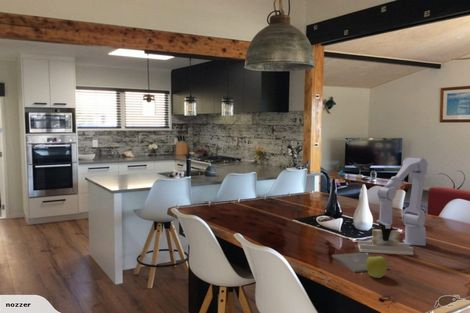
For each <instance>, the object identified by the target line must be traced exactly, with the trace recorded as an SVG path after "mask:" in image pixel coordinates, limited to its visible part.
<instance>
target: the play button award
mask: <svg viewBox="0 0 470 313" xmlns="http://www.w3.org/2000/svg"><path fill="white" fill-rule="evenodd" d="M369 257H372V256H370V255H369V254H368V253H366V252H354V253H353V252H351V253H340V254H331V258H332V259H334V260H336V261H337V262H338V263H340V264H341V265H343V266H345V267H346V268H347V269H349V270H350V271H352V272H353V273H365V272H368V271H367V267H366V261H367V259H368V258H369ZM387 270H390V266H389V265H387Z"/></svg>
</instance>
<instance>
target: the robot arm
mask: <svg viewBox="0 0 470 313" xmlns="http://www.w3.org/2000/svg"><path fill="white" fill-rule="evenodd" d="M428 165H429V164H428V161H427V159H426V158H424V157H423V158H422V157H409V156H407V157H405V158H404V159H403V161H402V166H401V168H400V169H399V171H398V172H397V174H396V175H395V176H391V178H390V179H389V180H388V181H387V182H386V183H385V184H384V186H382V187H380V188H379V189H377V190H378V191H377V193H376V194H377V196H378V197H377V198H378V201H379V217H378V218H379V219H377V220H376V222H377V223H378V227H379V228H380V229H379V230H382V236H383V241H388V239H389V236H390V233H391V231H392V230H394V227H392V224H393V205H394V204H393V201H394V199H395V198H396V195H397V191H398V190H399V189H400V188H401V186H402V185H403V180H404V179H405V178H406V177H407V176H408V175H409V174H411V175H412V176H413V178H412V183H411V191H410V198H409V206H407V207H406V208H405V209H404V211H403V214H402V215H401V220H402V223H403V224H404V226H405V229H404V231H405V232H404V234H405V235H404V239H402V241H403V243H410V246H424V247H425V246H427V245H426V243H427V242H426V241H427V240H426V239H427V231H426V230H427V229H426V227H425V226H424V225H425V223H426V216H425V215H426V214H425V213H426V212H425V211H424V210H422V208H421V205H422V199H423V192H424V191H423V190H424V185H425V177H426V175H427V171H428Z"/></svg>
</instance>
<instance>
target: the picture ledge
mask: <svg viewBox="0 0 470 313" xmlns="http://www.w3.org/2000/svg"><path fill="white" fill-rule="evenodd" d="M357 247H358V250H359V253H363V252H364V253H374V254H389V255H391V254H393V255H405V256H406V255H407V256H408V255H409V256H414V247H413V246H411V245H410V243H404V242H399V246H384V245H372V240H371V241H370V240H358V242H357Z"/></svg>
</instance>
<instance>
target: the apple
mask: <svg viewBox="0 0 470 313" xmlns="http://www.w3.org/2000/svg"><path fill="white" fill-rule="evenodd" d="M387 266H388V263H387V261H386V259H385V257H383V256H382V255H381V256H379V255H378V256H371V257H369V258H368V259H367V261H366V267H367V271H366V272H367V273H368V275H369V276H371V277H372V278H374V279H381V278H383V277H384V276H385V275H386V273H387V270H388V269H387Z"/></svg>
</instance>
